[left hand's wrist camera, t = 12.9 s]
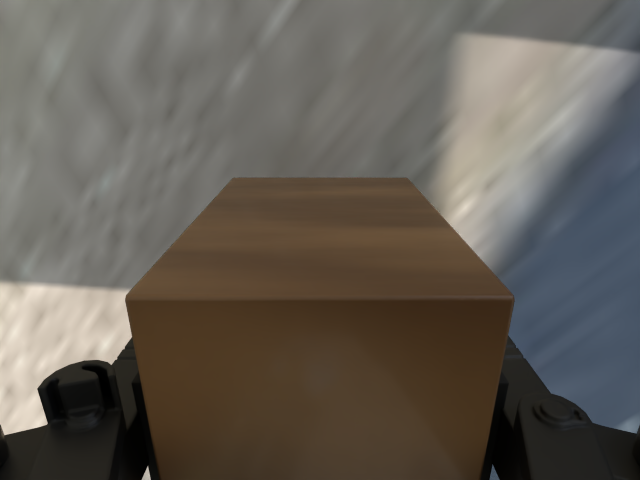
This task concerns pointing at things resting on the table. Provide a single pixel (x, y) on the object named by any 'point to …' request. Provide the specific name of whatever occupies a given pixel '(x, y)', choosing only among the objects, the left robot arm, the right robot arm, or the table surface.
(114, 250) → the table surface
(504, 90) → the table surface
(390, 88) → the table surface
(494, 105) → the table surface
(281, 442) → the bar
